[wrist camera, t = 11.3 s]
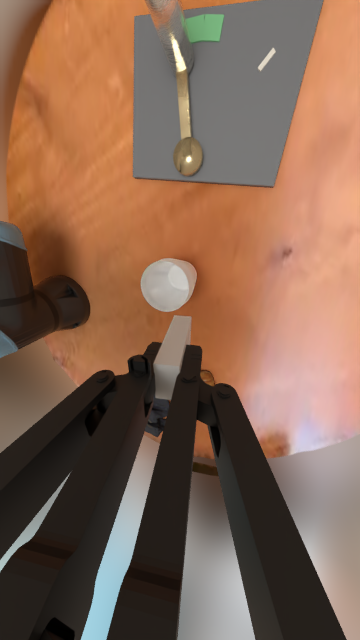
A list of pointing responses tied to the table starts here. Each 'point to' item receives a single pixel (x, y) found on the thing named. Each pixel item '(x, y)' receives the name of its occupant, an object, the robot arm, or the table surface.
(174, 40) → the tuning peg
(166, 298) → the cup
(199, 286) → the table surface
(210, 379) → the pastry
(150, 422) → the dark grey crumpled cloth
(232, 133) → the dial board
